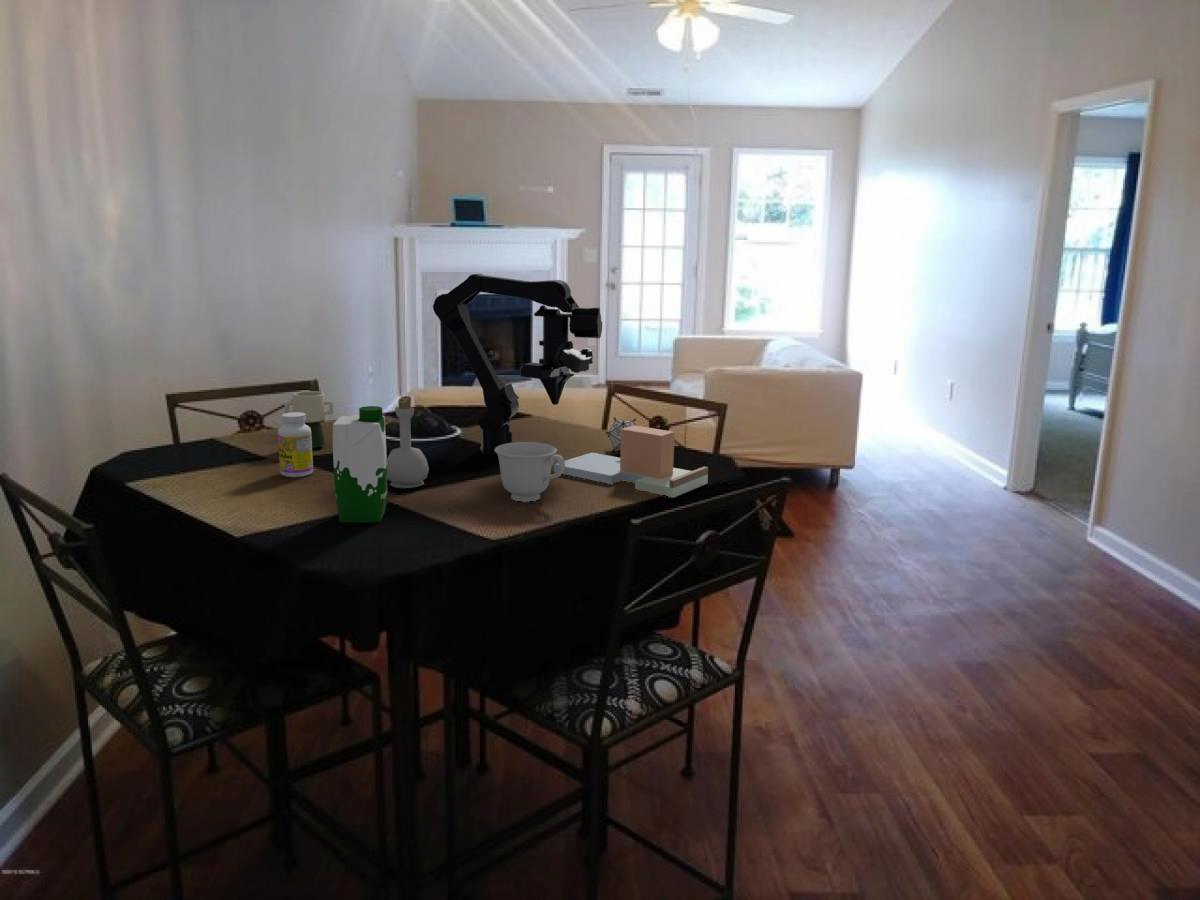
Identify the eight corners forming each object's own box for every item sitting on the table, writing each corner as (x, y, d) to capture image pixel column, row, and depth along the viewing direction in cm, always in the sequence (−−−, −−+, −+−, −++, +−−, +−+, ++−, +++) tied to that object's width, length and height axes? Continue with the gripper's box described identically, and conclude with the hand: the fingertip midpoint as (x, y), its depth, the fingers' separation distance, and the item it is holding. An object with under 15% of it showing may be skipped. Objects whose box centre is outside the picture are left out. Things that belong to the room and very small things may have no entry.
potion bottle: (436, 480, 193) (434, 395, 189) (414, 491, 185) (412, 402, 181) (399, 476, 196) (396, 392, 192) (376, 487, 188) (372, 399, 184)
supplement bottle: (274, 473, 196) (270, 413, 193) (303, 468, 201) (299, 409, 198) (290, 479, 192) (287, 418, 189) (319, 474, 196) (316, 414, 193)
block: (619, 470, 196) (621, 429, 194) (633, 466, 200) (634, 425, 198) (660, 478, 191) (661, 435, 189) (672, 473, 195) (674, 431, 192)
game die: (628, 464, 225) (651, 430, 225) (626, 460, 216) (650, 425, 217) (598, 444, 226) (621, 410, 227) (594, 439, 218) (619, 404, 218)
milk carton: (384, 524, 165) (380, 413, 160) (332, 524, 164) (326, 412, 159) (391, 509, 173) (387, 403, 168) (341, 509, 172) (336, 403, 168)
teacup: (545, 513, 172) (545, 461, 170) (482, 500, 180) (481, 450, 178) (580, 498, 182) (581, 449, 180) (519, 486, 190) (519, 439, 188)
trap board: (553, 473, 201) (553, 457, 200) (591, 461, 212) (591, 446, 211) (673, 497, 184) (673, 480, 183) (707, 483, 195) (708, 467, 195)
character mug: (335, 443, 224) (333, 390, 221) (334, 450, 217) (332, 395, 214) (288, 445, 221) (285, 391, 218) (285, 452, 215) (282, 396, 212)
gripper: (558, 343, 199) (557, 414, 202) (608, 336, 214) (607, 403, 217) (518, 339, 205) (518, 408, 209) (569, 332, 220) (569, 397, 223)
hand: (555, 404), depth 214 cm, fingers closed
